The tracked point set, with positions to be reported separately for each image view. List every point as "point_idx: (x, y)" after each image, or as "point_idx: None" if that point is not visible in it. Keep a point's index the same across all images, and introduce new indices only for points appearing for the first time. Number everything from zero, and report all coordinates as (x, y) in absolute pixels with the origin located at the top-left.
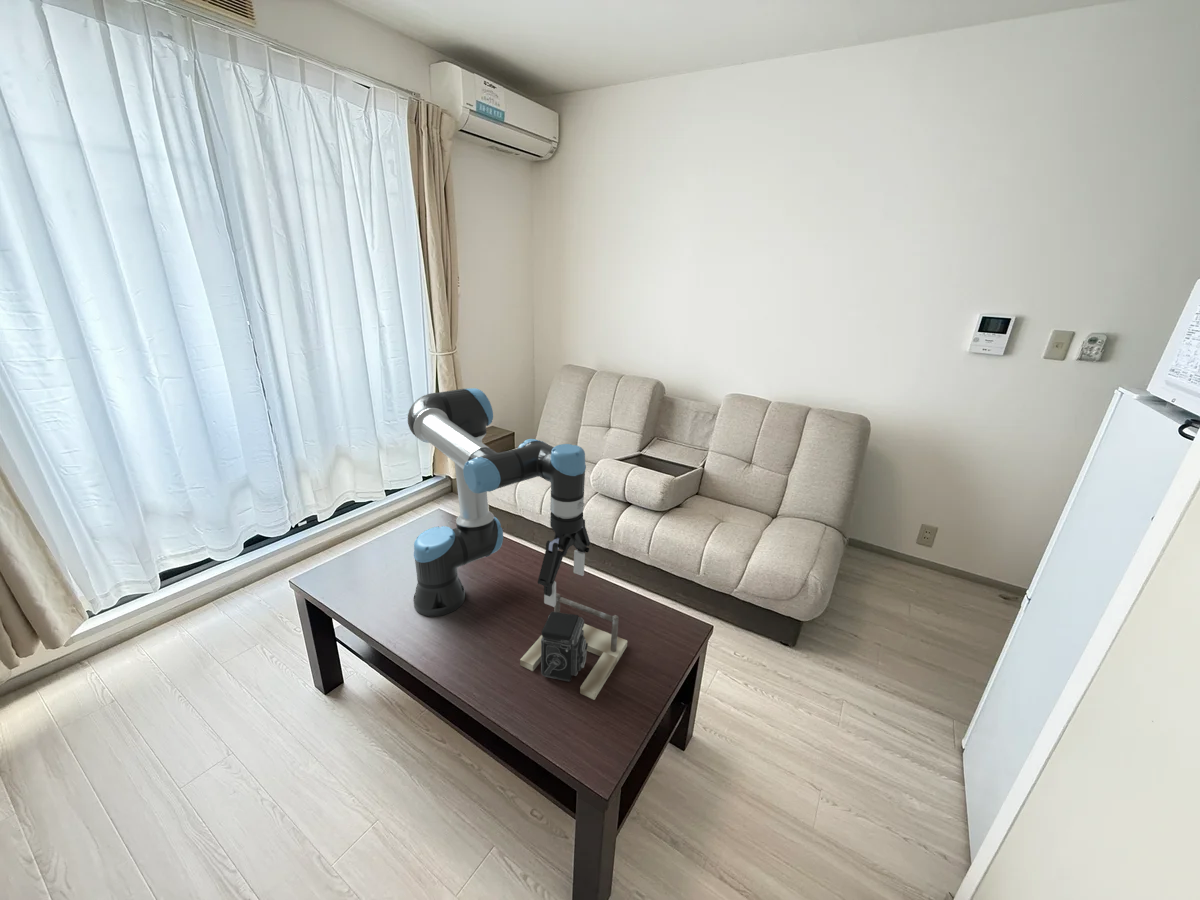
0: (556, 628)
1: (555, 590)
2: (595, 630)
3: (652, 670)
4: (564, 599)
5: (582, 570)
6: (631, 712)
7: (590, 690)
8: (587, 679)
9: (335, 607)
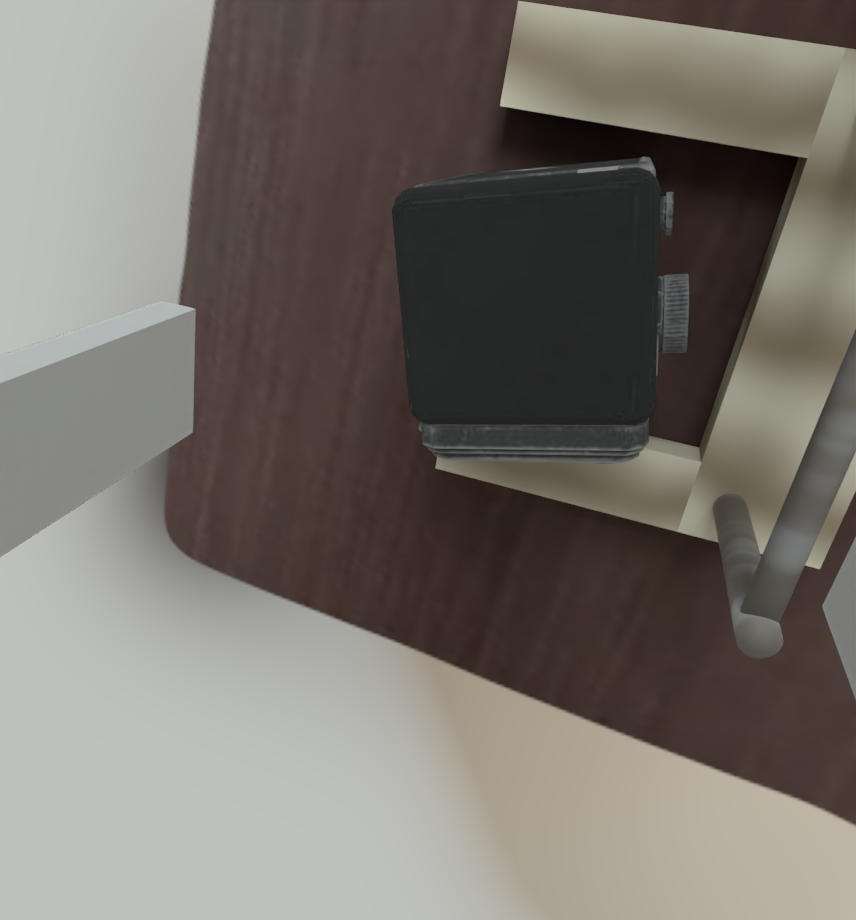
0: (458, 298)
1: (38, 520)
2: None
3: (671, 661)
4: None
5: (842, 659)
6: (438, 593)
7: None
8: None
9: None
